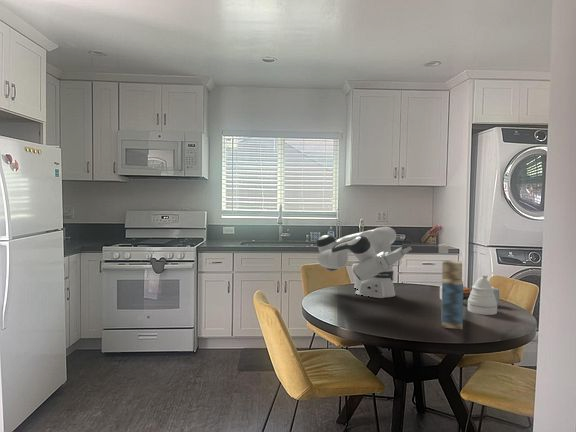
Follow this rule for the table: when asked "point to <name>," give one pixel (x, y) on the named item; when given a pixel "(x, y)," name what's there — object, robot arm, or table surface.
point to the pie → (466, 292)
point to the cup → (357, 281)
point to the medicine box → (496, 295)
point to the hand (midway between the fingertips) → (411, 247)
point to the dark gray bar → (427, 248)
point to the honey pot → (482, 298)
